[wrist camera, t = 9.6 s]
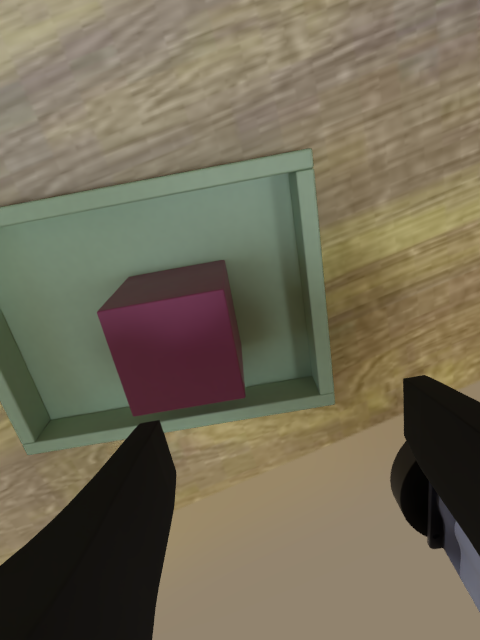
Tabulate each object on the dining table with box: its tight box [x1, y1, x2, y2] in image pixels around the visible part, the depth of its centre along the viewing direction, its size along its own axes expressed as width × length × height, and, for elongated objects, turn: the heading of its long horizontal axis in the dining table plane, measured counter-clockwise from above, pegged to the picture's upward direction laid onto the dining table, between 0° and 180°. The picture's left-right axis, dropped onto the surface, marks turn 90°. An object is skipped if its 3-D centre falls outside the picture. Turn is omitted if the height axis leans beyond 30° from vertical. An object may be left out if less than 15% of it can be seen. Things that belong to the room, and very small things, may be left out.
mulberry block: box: [97, 260, 246, 417], centre depth 16 cm, size 4×4×4 cm
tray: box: [0, 148, 335, 455], centre depth 17 cm, size 11×15×2 cm
